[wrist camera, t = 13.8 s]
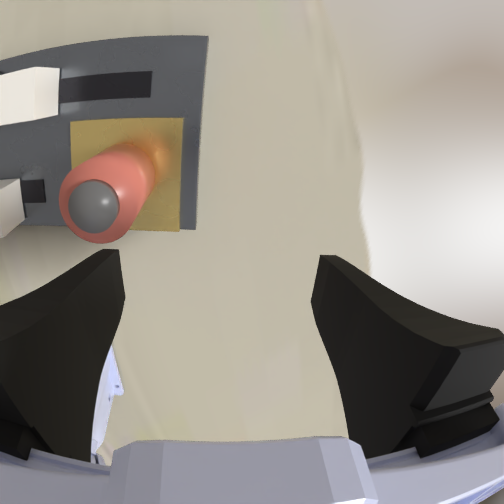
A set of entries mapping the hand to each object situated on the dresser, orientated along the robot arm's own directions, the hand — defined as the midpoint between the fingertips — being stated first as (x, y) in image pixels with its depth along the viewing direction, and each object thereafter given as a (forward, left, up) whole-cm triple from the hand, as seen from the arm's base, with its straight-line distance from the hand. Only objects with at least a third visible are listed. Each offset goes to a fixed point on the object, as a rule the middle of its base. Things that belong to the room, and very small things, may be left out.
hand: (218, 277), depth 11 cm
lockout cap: (+1, +6, -9) cm, 11 cm away
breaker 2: (+7, +12, -9) cm, 17 cm away
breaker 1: (0, +16, -9) cm, 18 cm away
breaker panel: (+4, +9, -11) cm, 15 cm away
